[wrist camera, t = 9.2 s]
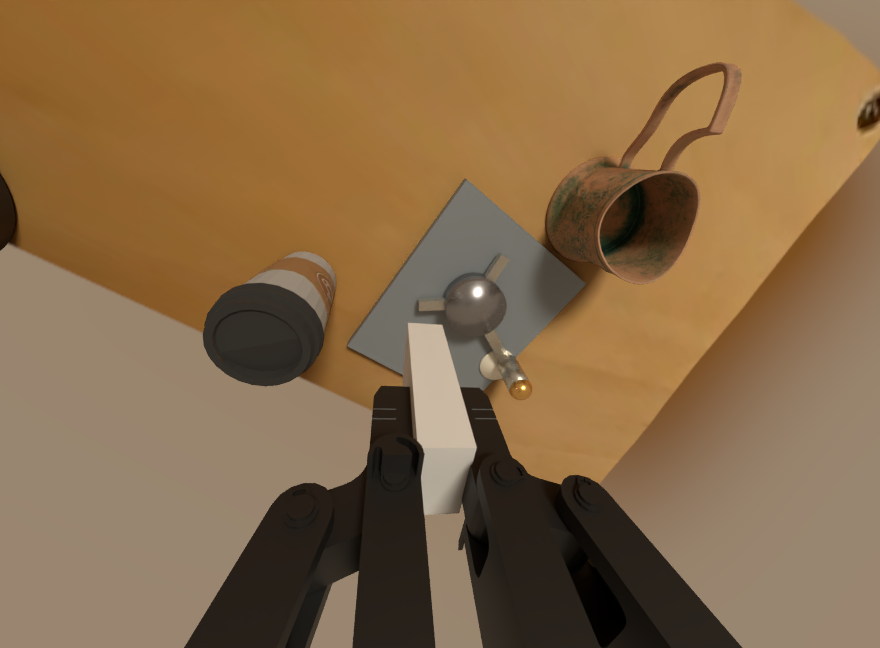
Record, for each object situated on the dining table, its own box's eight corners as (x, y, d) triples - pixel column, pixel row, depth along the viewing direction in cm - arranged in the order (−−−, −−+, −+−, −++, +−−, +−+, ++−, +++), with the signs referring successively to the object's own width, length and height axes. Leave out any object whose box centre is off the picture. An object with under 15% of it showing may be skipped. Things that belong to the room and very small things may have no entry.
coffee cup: (354, 303, 38) (332, 380, 25) (285, 315, 38) (227, 400, 25) (333, 235, 34) (294, 284, 21) (256, 248, 34) (169, 306, 21)
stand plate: (348, 341, 41) (346, 347, 39) (464, 178, 33) (467, 179, 32) (470, 405, 49) (472, 412, 47) (586, 284, 41) (592, 289, 40)
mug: (681, 96, 32) (819, 68, 22) (620, 263, 40) (699, 301, 30) (577, 80, 30) (673, 41, 20) (535, 258, 39) (588, 297, 28)
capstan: (413, 299, 38) (417, 328, 31) (502, 248, 36) (525, 268, 30) (472, 387, 45) (484, 424, 39) (548, 348, 44) (573, 381, 37)
